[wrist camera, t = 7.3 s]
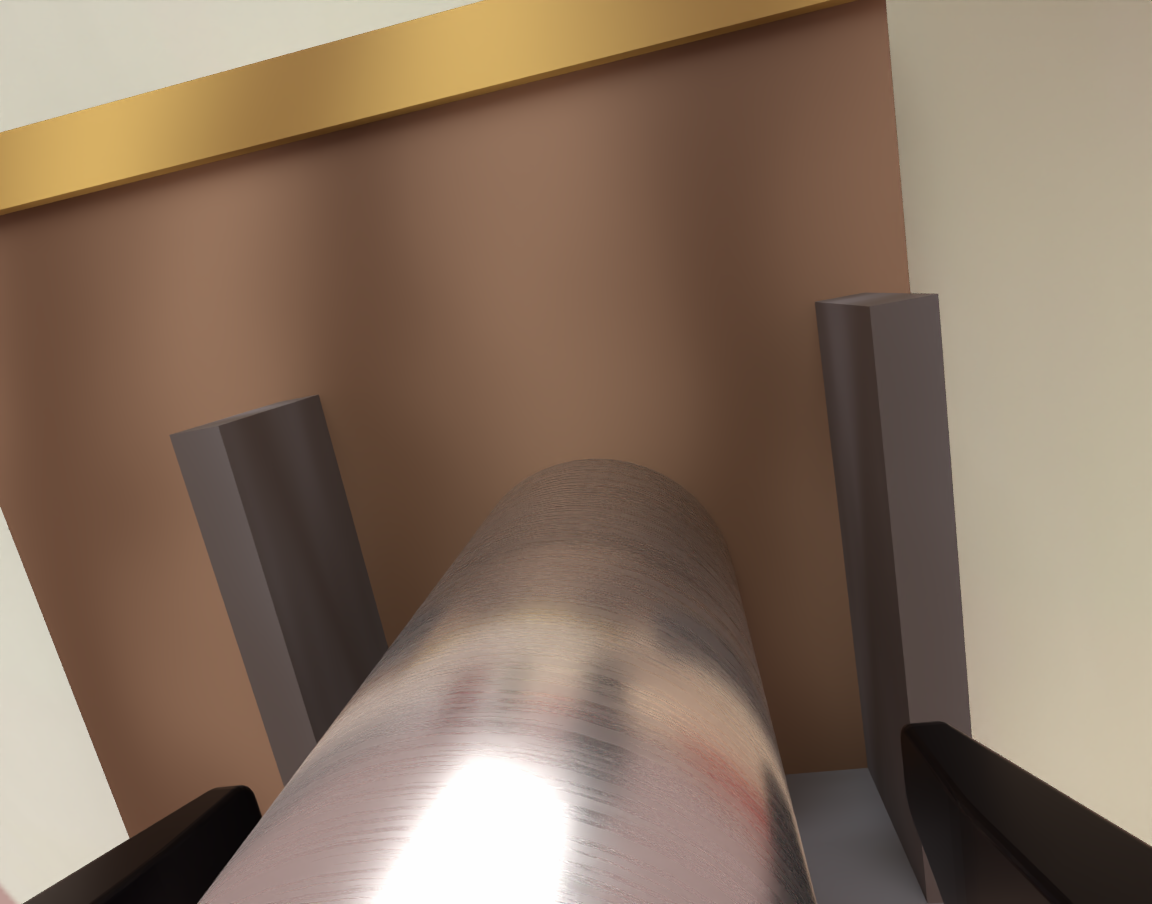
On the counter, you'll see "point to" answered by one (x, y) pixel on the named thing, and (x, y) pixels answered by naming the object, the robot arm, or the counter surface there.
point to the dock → (481, 376)
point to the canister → (550, 726)
